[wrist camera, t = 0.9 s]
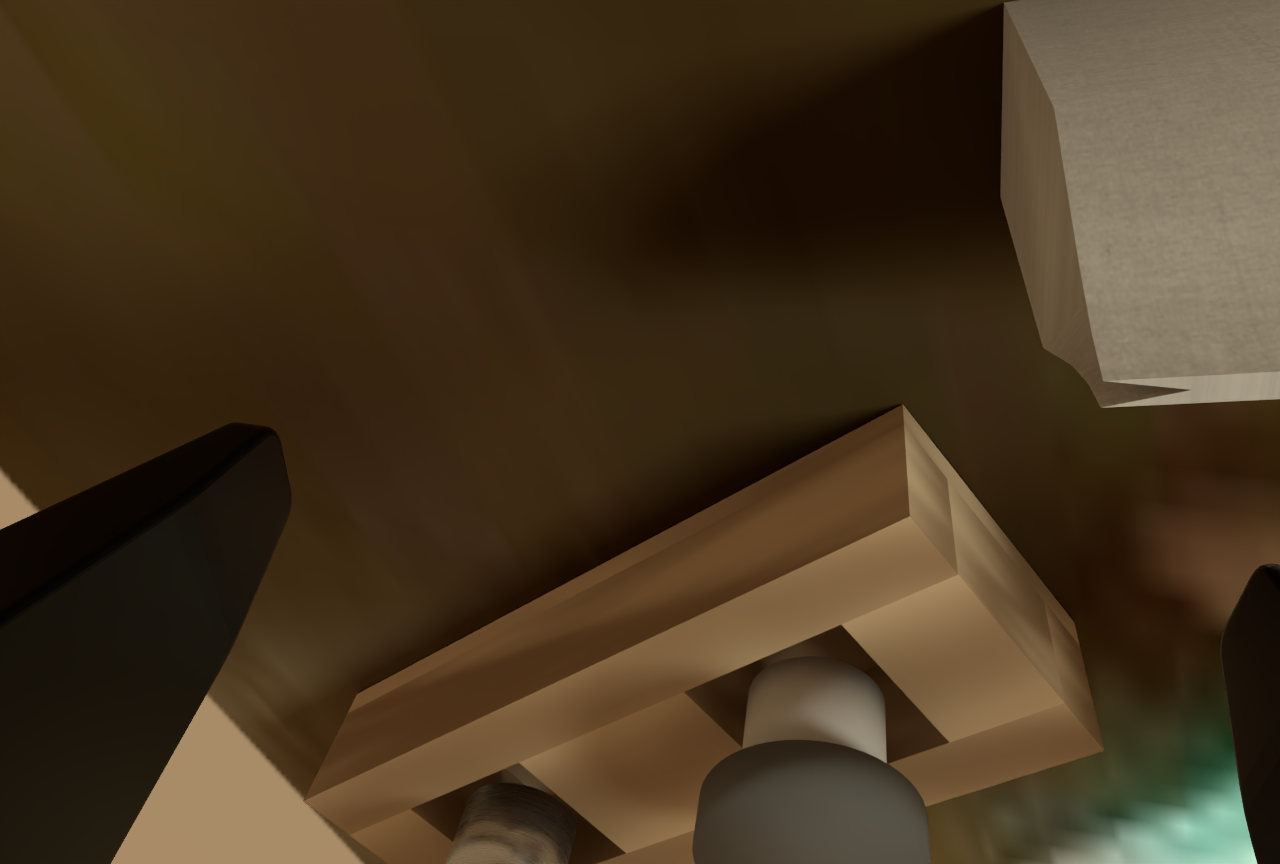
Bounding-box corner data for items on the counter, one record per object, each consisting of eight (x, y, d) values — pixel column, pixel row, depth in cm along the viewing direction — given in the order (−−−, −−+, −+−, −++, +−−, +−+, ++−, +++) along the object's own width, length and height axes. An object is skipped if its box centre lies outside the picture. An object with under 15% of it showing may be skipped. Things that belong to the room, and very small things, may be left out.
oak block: (1074, 622, 26) (1104, 750, 23) (525, 831, 36) (493, 942, 33) (902, 404, 24) (909, 515, 20) (356, 694, 33) (303, 800, 30)
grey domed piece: (960, 731, 24) (977, 898, 21) (791, 789, 26) (781, 949, 23) (844, 601, 22) (841, 762, 19) (674, 676, 25) (645, 831, 21)
